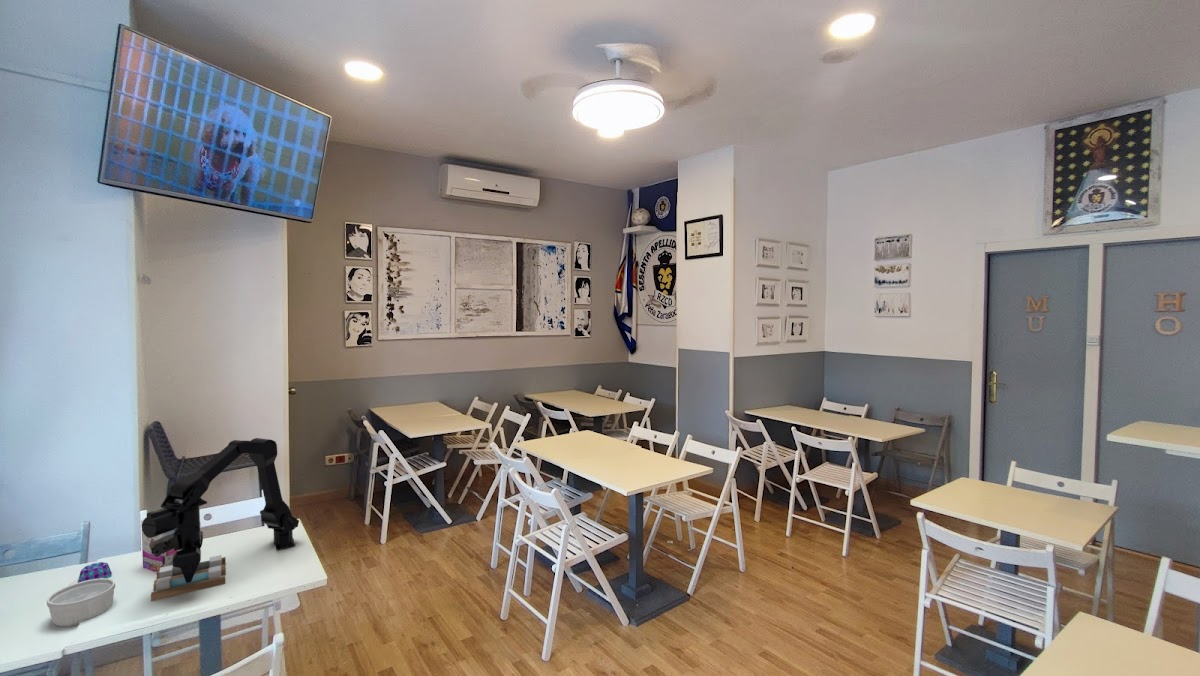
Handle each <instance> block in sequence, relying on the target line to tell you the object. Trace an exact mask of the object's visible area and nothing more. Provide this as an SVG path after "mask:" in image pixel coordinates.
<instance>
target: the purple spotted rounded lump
mask: <svg viewBox="0 0 1200 676" xmlns="http://www.w3.org/2000/svg"><path fill="white" fill-rule="evenodd" d="M112 575H113V573H112V571H111V568H110V565H109V563H108V562H102V561H99V562H95V563H91V564H88V565H85V566H84V567H83V568H82V569H81V570H80V572H79V576H78V578H77V579H76V580H73V581H72V582H70V583H69V584H68V585H67V586H70V585H73V584H76V583H79V582H83V581H87V580H92V579H100V578H107V579H111V577H112Z"/></svg>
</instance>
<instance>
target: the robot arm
mask: <svg viewBox="0 0 1200 676" xmlns="http://www.w3.org/2000/svg"><path fill="white" fill-rule="evenodd" d="M242 454H248V456H249V459H250V460H251V461H252V462H253V463H254V464H255V465H256V467H257V471H258V476H259V480H260V484H261V485H260V486H261V489H262V494H263V498H264V501H265V506H264V507H263V509H262V510H260V511H259V514H260V517H261V520H260V521H261V522H263V523H264V525H266V526H267V529H271V530H273V545H274V546H275V550H276V549H277V550H280V548H282V549H285V547H286V548H291V547H295V546H294V545H296V543H295V540H294V537H293V535H294V534H293V531H294V530H295V529H296V528H298V526H299V523H300V520H299V519H298V518H296V517H295V516H293V513H292V512H291V509H290V507H289V505H288V504H287V503H286V502H285V501H284V500H283V496H282V493H281V487H280V482H279V477H278V472H277V469H276V464H275V462H276V459H277V457H278V444H277V442H276V441H275V440H273V439H268V438H260V437H256V438H252V439H251V440H240V439H239V440H238V439H234V440H231V441H230V442H229V443H228V445H227V446H225V447H224V448H223V449H221V450H220V451H219V452H218V453H217V454H216V455H214V456H213V457H212V458H211V459H210V460H209V461H208V462H206V463H205V464H204V465H203V466H202V467H200V468H199V469H198V470H197V471H195V472H193V473H190V474H188V475H185V476H183V477H182V478H180V479H179V480H178V479H177V481H176V482H174V483H173V484H171V486H170V491H169V492H168V494H167V495H166V496H165V498H164V500H163V502H162V503H161V505H160V509H157V510H154V511H149V512H147V513H146V517H145V518H144V519H142V520H143V524H141V532H142V531H143V533H144V535H145V536H146V537H148V538H152V537H155V536H158V535H160V534H163V533H166V532H169V531H171V530H175V532H174V533H172V534H169V535H167V536H165V537H162V538H160V539H158V540H156V541H154V542H152V543H151V546H150V549H151V551H152V552H151V554H154V556H155V557H158V556H160V555H161V554H163V553H165V552H167V551H169V550H171V549H173V548H174V550H180V551H177V552H176V553H175V554H174V555H173V566H174V567H178V568H180V569H181V570H182V573H183V575H184V578H185V581H186V583H189V582H191V581H192V578H193V576H194V574H195V571H196V569H197V567H198V565H199V562H202V561H201V560H202V550H201V549H202V546H203V541H204V532H203V531H202V530H201V516H200V515H201V513H200V511H201V510H200V507H201V506H204V505H207V504H208V501H207V500H204V499H203V498H202V496H204V494H205V493H206V492H207V491H208V489H209V487H210V485H211V483H212V481H213V480H214V479H216V478H217V477H218V476H219V475H220V474H221V473H223V471H225V470H226V469H227V468H228V467H229V466H230V465H232V464H233V463H234V462H235V461H236V460H237V459H239V458H240V457H241V456H242ZM176 501H177V502H176ZM290 546H291V547H290Z"/></svg>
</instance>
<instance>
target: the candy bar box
mask: <svg viewBox="0 0 1200 676" xmlns="http://www.w3.org/2000/svg"><path fill="white" fill-rule="evenodd" d="M143 520H144V519H142V520H140V522H141V525H142V524H143ZM174 532H175V530H171V531H169V532H166V533H163V534H160V535H158V536H155V537H152V538H148V537H146V536H145V535H144V533H143V531H142V530H141V545H142V546H141V549H142V568H143V569H146V570H148V571H152V572H155V573H157V571H160V568H161V567H166V566H171V565H173V555H174V554H175V553H176V552H177V551H180V550H174V548H173V549H171V550H169V551H167V552H165V553H163V554H161V555H160V556H158V557H155V556H154V554H151V552H152V551H151V549H150V546H151V543H152V542H154V541H156V540H158V539H160V538H162V537H165V536H167V535H169V534H172V533H174ZM173 568H176V567H174V566H173Z"/></svg>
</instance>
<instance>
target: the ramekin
mask: <svg viewBox="0 0 1200 676" xmlns="http://www.w3.org/2000/svg"><path fill="white" fill-rule="evenodd" d="M115 588H116V582H115V580H114V579H112V578H100V579H92V580H87V581H83V582H79V583H76V584H73V585H70V586H68V585H67V586H64V587H63V588H61V589H58V590H56V591H55V592H53V593H52V594H51V595H50V596H48V598H47V599H46V606H47V608H48V609H49V613H50V618H51V621H52V622H53V624H54V625H57V626H59V627H62V626H63V627H65V628H66V627H74V626H73V625H75V626H79V625H80V623H81V622H82V621H85V620H90V619H92V618H95V617H97V616H99V615H101V614H103V613H105V612H107V611H108V610H109V609H110V608H111V607H112V606H113V602H114V593H115ZM78 624H79V625H78Z"/></svg>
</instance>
